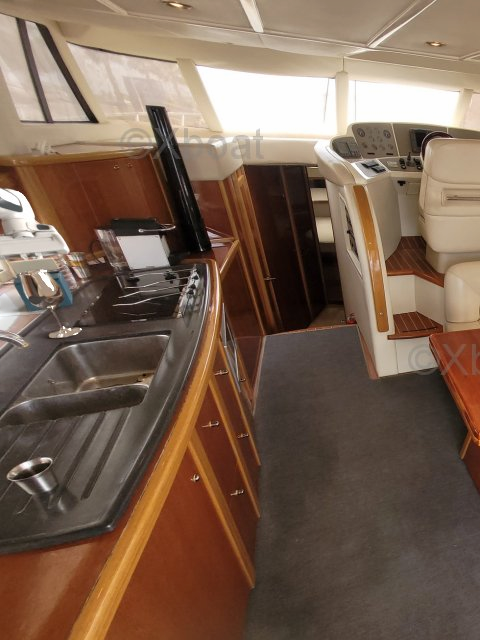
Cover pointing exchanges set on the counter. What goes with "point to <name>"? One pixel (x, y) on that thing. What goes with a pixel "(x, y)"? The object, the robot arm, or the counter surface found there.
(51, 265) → the flap
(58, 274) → the tote
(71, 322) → the counter surface
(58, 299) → the wineglass
